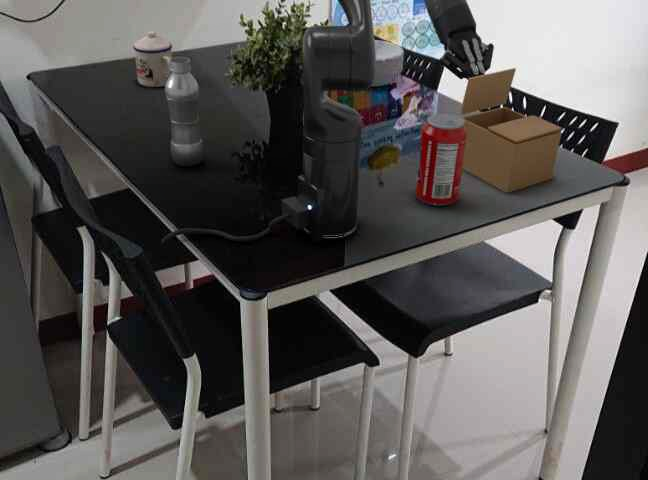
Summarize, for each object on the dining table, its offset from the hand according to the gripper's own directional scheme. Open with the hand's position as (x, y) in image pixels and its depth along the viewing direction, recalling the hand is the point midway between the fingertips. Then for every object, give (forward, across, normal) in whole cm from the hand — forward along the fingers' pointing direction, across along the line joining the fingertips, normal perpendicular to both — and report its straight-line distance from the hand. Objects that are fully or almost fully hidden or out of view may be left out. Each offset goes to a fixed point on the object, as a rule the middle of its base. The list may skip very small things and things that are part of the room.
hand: (484, 94), depth 150 cm
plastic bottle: (-10, +51, -28) cm, 59 cm away
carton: (+15, 0, -4) cm, 15 cm away
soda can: (+16, +19, -2) cm, 25 cm away
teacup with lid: (-42, +37, -60) cm, 82 cm away
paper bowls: (-24, -9, -43) cm, 50 cm away
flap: (0, 0, +1) cm, 1 cm away
